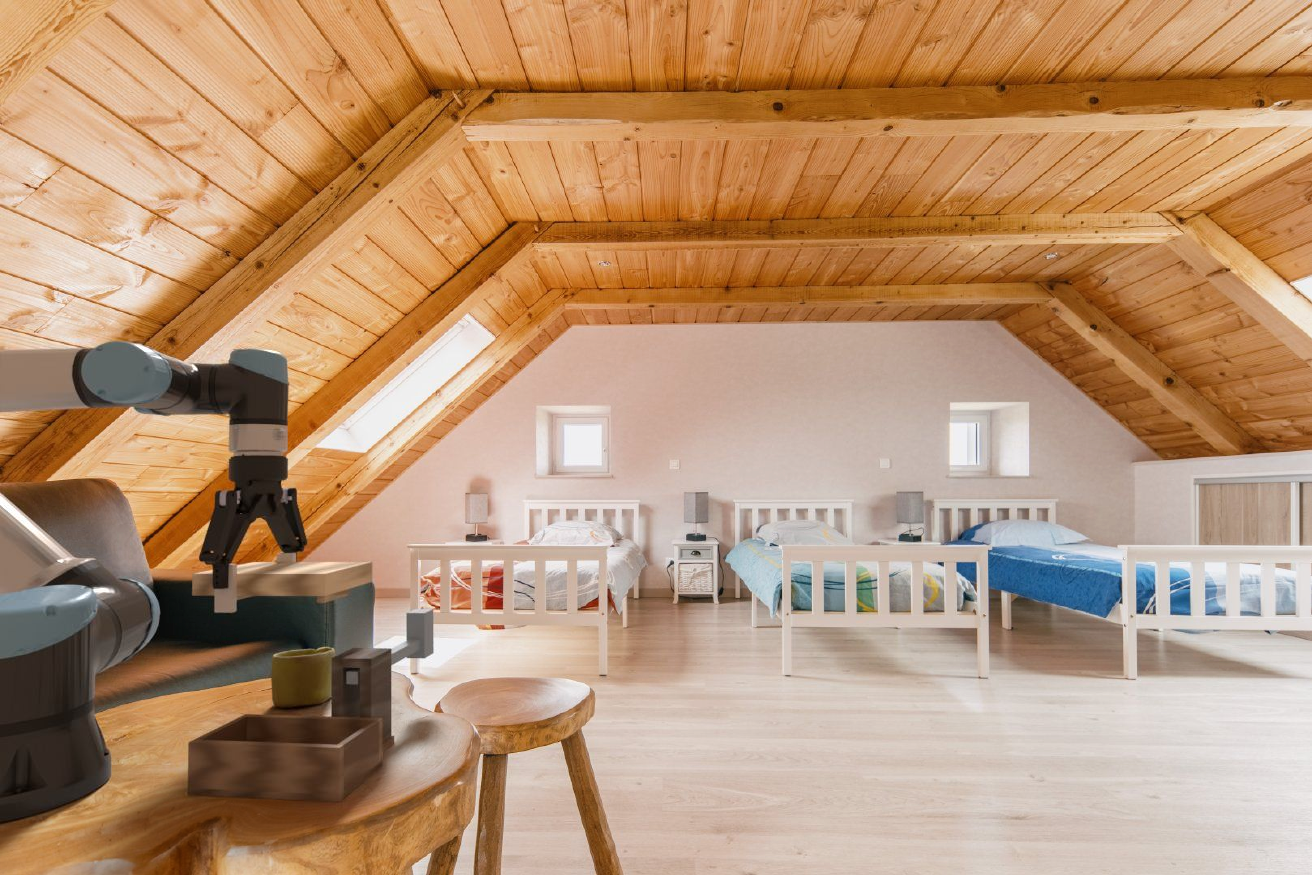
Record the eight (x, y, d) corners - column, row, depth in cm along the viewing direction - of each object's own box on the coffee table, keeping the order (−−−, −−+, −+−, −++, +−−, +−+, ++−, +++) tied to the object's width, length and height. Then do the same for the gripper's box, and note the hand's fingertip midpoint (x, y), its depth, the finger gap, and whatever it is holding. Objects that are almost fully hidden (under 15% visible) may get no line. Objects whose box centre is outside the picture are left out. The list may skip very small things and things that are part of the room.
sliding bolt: (341, 694, 87) (341, 640, 87) (415, 652, 107) (415, 608, 107) (362, 695, 87) (362, 641, 87) (433, 653, 106) (433, 609, 107)
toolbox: (187, 794, 77) (189, 683, 78) (282, 739, 93) (283, 646, 93) (339, 802, 75) (339, 686, 75) (410, 743, 90) (409, 648, 91)
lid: (191, 606, 92) (192, 573, 92) (252, 591, 103) (252, 562, 104) (325, 607, 89) (325, 573, 90) (372, 591, 101) (372, 561, 101)
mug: (311, 703, 102) (304, 638, 105) (256, 721, 103) (251, 656, 106) (365, 693, 113) (357, 634, 116) (315, 709, 115) (308, 651, 118)
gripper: (218, 452, 86) (216, 621, 85) (331, 455, 109) (331, 588, 108) (166, 453, 87) (164, 621, 86) (290, 456, 110) (289, 588, 109)
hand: (257, 603), depth 97 cm, fingers closed on lid, 11 cm apart
